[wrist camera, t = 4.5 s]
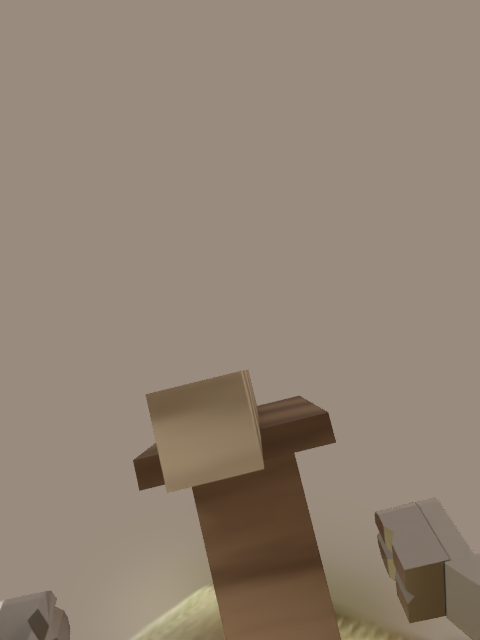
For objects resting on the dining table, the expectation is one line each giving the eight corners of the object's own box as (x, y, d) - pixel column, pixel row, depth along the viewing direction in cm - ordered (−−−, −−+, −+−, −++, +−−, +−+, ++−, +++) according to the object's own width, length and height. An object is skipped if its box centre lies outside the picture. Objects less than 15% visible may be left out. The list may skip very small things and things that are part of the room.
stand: (483, 1005, 20) (328, 412, 22) (259, 1059, 20) (132, 460, 22) (387, 740, 33) (299, 395, 36) (256, 772, 33) (179, 425, 36)
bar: (264, 469, 14) (240, 371, 14) (166, 493, 14) (145, 394, 14) (257, 407, 35) (248, 369, 36) (220, 416, 35) (211, 378, 36)
